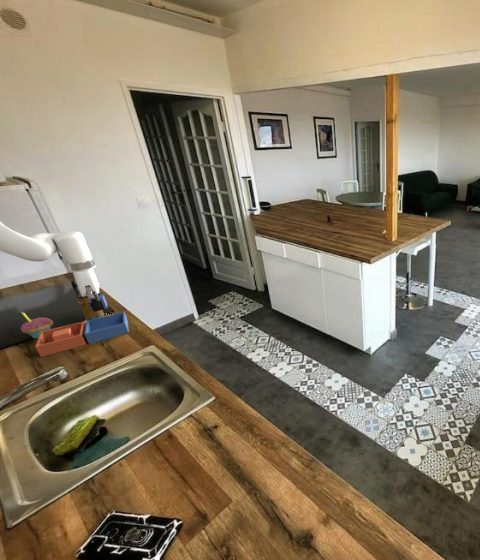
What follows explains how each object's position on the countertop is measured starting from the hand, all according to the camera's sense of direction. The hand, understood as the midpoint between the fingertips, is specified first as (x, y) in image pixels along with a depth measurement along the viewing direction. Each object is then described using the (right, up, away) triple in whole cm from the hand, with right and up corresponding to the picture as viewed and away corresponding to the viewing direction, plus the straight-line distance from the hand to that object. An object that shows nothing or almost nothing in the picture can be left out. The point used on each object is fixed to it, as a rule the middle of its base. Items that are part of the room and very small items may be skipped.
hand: (99, 307), depth 122 cm
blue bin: (0, -10, +5) cm, 11 cm away
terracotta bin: (-10, -14, -3) cm, 17 cm away
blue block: (0, 0, 0) cm, 0 cm away
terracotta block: (-10, -13, -3) cm, 17 cm away
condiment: (-13, -6, +14) cm, 20 cm away
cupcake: (-25, -11, +2) cm, 27 cm away
